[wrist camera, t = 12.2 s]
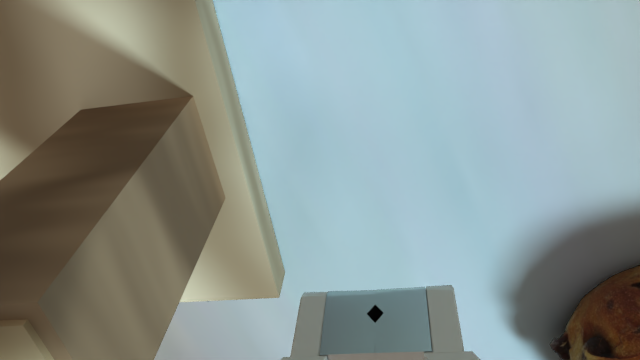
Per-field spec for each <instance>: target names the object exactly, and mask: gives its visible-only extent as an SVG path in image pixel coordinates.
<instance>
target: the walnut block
mask: <svg viewBox="0 0 640 360" xmlns="http://www.w3.org/2000/svg"><path fill="white" fill-rule="evenodd" d="M224 201H225V195H224V191H223V188H222V185H221V182H220V179H219V176H218V173H217V169H216V166H215V163H214V160H213V157H212V154H211V151H210V147H209V144H208V141H207V138H206V135H205V132H204V128H203V125H202V122H201V119H200V116H199V113H198V110H197V106H196V103H195V100H194V97H193V96H189V97H180V98H172V99H164V100H156V101H147V102H139V103H131V104H123V105H115V106H106V107H98V108H90V109H82V110H80V111H79V112H78V113H76V114H75V115H74V116H73V117H72V118H71V119H70V120H68V121H67V122H66V123H65V124H64V125H63V126H62V127H60V128H59V129H58V130H57V131H56V132H55V133H54V134H52V135H51V136H50V137H49V138H48V139H47V140H46V141H45V142H43V143H42V144H41V145H40V146H39V147H38V148H37V149H35V150H34V151H33V152H32V153H31V154H30V155H29V156H27V157H26V158H25V159H24V160H23V161H22V162H21V163H19V164H18V165H17V166H16V167H15V168H14V169H13V170H11V171H10V172H9V173H8V174H7V175H6V176H5V177H4V178H2V179H1V180H0V360H154V358H155V356H156V353H157V351H158V349H159V347H160V344H161V342H162V340H163V338H164V335H165V333H166V331H167V329H168V326H169V324H170V322H171V320H172V317H173V315H174V313H175V311H176V309H177V306H178V304H179V302H180V300H181V297H182V295H183V293H184V291H185V288H186V286H187V284H188V282H189V279H190V277H191V275H192V273H193V270H194V268H195V266H196V264H197V261H198V259H199V257H200V255H201V252H202V250H203V248H204V246H205V243H206V241H207V239H208V237H209V234H210V232H211V230H212V228H213V225H214V223H215V221H216V219H217V216H218V214H219V212H220V210H221V207H222V205H223V203H224Z"/></svg>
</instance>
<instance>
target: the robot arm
mask: <svg viewBox="0 0 640 360" xmlns="http://www.w3.org/2000/svg"><path fill="white" fill-rule="evenodd" d="M281 360H480V359H479V358H478V357H477V356H476V355H475V354H474V353H473V352H472V351H464V347H463V341H462V335H461V329H460V324H459V318H458V312H457V306H456V300H455V294H454V288H453V287H452V285H443V286H427V287H426V288H425V287H414V288H397V289H381V290H361V291H328V292H307V293H304V294H303V295H302V297H301V300H300V306H299V311H298V317H297V323H296V328H295V334H294V339H293V345H292V350H291V356H290V357H283V358H282V359H281Z"/></svg>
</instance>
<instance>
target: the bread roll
mask: <svg viewBox="0 0 640 360" xmlns="http://www.w3.org/2000/svg"><path fill="white" fill-rule="evenodd" d="M550 346H551V347H552V349H553V350H554V351H555V352H556V353H558V355H559V357H560V358H562V359H563V360H640V265H639V266H636V267H634V268H631V269H628V270H626V271H623V272H620V273H618V274H616V275H614V276H612V277H610V278H609V279H607V280H606V281H604V282H603V283H601V284H600V285H598V286H597V287H596V288H594V289H593V290H592V291H590V292H589V293H588V294H586V295H585V296H584V297H583V298H582V299H581V301H580V303H579V305H578V306H577V308H576V310H575V311H574V313H573V315H572V316H571V318H570V320H569V322H568V323H567V325H566V329H565V332H564V334H563V335H562V336H561V337H560V338H558V339H556V338H554V339H553V340H552V342H551V343H550Z"/></svg>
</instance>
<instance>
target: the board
mask: <svg viewBox="0 0 640 360" xmlns="http://www.w3.org/2000/svg"><path fill="white" fill-rule="evenodd" d="M189 96H193V97H194V100H195V103H196V106H197V110H198V113H199V116H200V119H201V122H202V125H203V128H204V132H205V135H206V138H207V141H208V144H209V147H210V151H211V154H212V157H213V160H214V163H215V166H216V169H217V173H218V176H219V179H220V182H221V185H222V188H223V191H224V195H225V201H224V203H223V205H222V207H221V210H220V212H219V214H218V216H217V219H216V221H215V223H214V225H213V228H212V230H211V232H210V234H209V237H208V239H207V241H206V243H205V246H204V248H203V250H202V252H201V255H200V257H199V259H198V261H197V264H196V266H195V268H194V270H193V273H192V275H191V277H190V279H189V282H188V284H187V286H186V288H185V291H184V293H183V295H182V297H181V300H180V302H195V301H216V300H238V299H260V298H279V296H280V292H281V288H282V283H283V279H284V275H285V270H284V267H283V263H282V259H281V255H280V252H279V248H278V244H277V240H276V237H275V233H274V229H273V225H272V222H271V218H270V214H269V210H268V207H267V203H266V199H265V195H264V192H263V188H262V184H261V180H260V177H259V173H258V169H257V165H256V162H255V158H254V154H253V150H252V147H251V143H250V139H249V135H248V132H247V128H246V124H245V120H244V117H243V113H242V109H241V105H240V102H239V98H238V94H237V90H236V87H235V83H234V79H233V75H232V72H231V68H230V64H229V60H228V57H227V53H226V49H225V45H224V42H223V38H222V34H221V30H220V27H219V23H218V19H217V15H216V12H215V8H214V4H213V0H0V180H1V179H2V178H4V177H5V176H6V175H7V174H8V173H9V172H10V171H11V170H13V169H14V168H15V167H16V166H17V165H18V164H19V163H21V162H22V161H23V160H24V159H25V158H26V157H27V156H29V155H30V154H31V153H32V152H33V151H34V150H35V149H37V148H38V147H39V146H40V145H41V144H42V143H43V142H45V141H46V140H47V139H48V138H49V137H50V136H51V135H52V134H54V133H55V132H56V131H57V130H58V129H59V128H60V127H62V126H63V125H64V124H65V123H66V122H67V121H68V120H70V119H71V118H72V117H73V116H74V115H75V114H76V113H78V112H79V111H80V110H82V109H90V108H98V107H106V106H115V105H123V104H131V103H139V102H147V101H156V100H164V99H172V98H180V97H189Z"/></svg>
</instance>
